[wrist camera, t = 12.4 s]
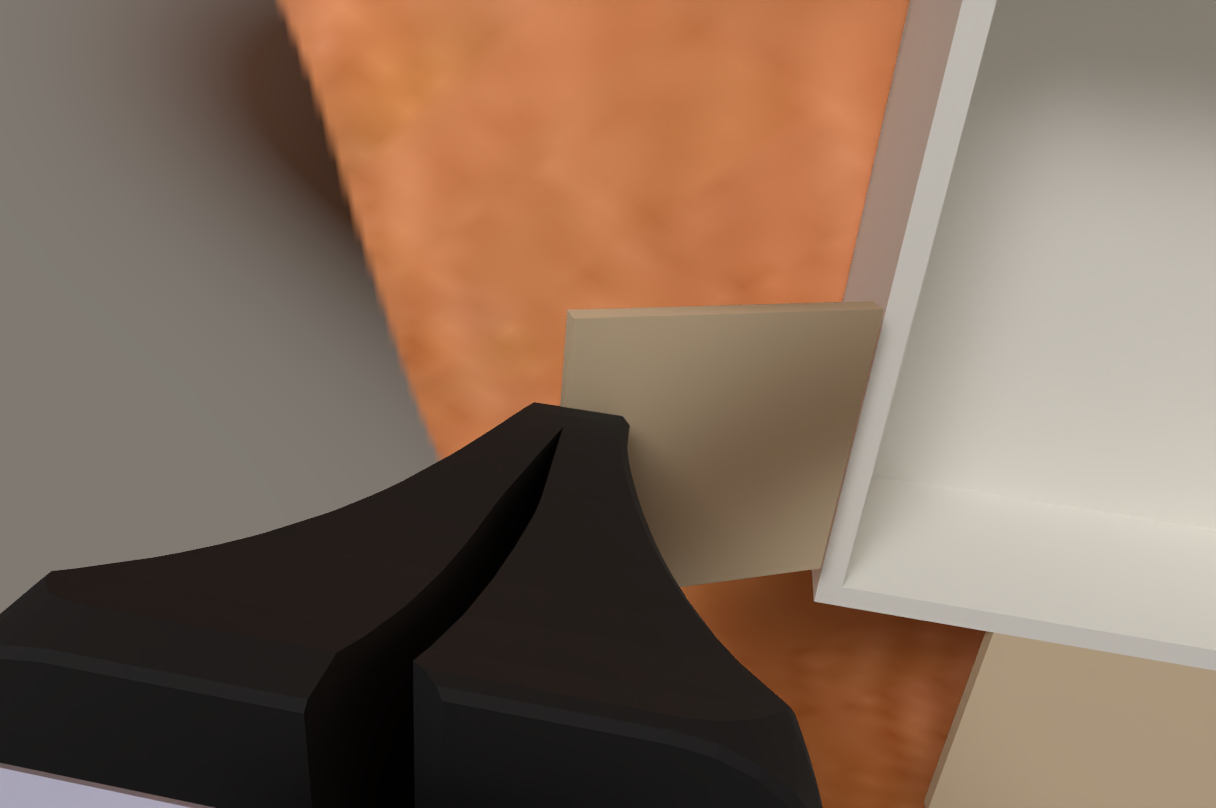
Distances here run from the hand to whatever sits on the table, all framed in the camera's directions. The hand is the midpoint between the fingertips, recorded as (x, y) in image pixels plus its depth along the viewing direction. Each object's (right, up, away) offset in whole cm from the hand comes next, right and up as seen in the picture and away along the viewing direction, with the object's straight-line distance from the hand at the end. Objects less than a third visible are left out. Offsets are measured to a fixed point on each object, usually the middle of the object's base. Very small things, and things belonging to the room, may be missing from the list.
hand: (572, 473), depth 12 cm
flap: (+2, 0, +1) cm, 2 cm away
